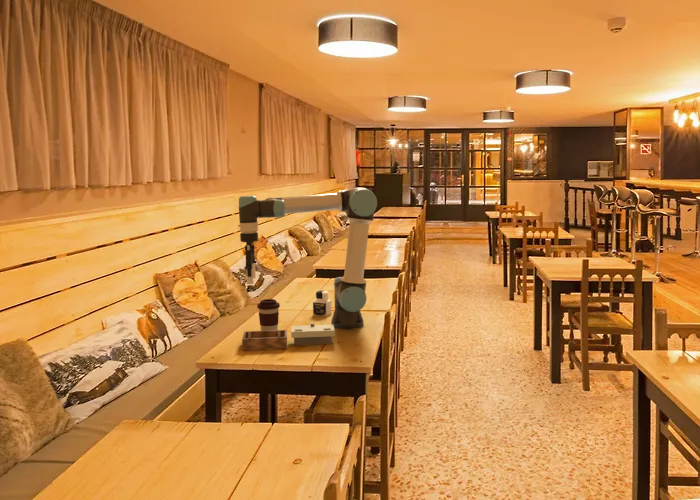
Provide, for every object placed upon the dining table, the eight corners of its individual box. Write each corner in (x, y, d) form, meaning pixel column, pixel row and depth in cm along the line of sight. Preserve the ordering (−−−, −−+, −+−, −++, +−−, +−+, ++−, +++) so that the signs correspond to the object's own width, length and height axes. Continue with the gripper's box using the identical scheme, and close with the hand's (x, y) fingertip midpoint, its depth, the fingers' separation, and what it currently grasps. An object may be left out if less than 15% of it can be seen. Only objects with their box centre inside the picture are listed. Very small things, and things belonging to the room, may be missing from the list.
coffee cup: (276, 336, 283) (275, 303, 281) (255, 335, 285) (253, 302, 283) (283, 330, 292) (282, 298, 290) (262, 329, 294) (261, 297, 292)
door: (333, 330, 277) (333, 322, 276) (334, 336, 267) (334, 327, 266) (291, 331, 275) (291, 323, 275) (291, 337, 265) (291, 329, 265)
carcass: (287, 341, 275) (286, 323, 274) (286, 349, 263) (286, 330, 262) (244, 342, 273) (243, 324, 272) (242, 351, 261) (241, 332, 260)
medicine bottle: (313, 315, 320) (312, 292, 319) (319, 312, 327) (318, 289, 325) (326, 316, 317) (325, 293, 316) (331, 313, 324) (331, 290, 322)
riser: (331, 341, 274) (331, 331, 274) (332, 343, 270) (332, 334, 270) (294, 342, 273) (293, 333, 272) (294, 345, 269) (293, 335, 268)
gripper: (242, 229, 286) (245, 276, 289) (237, 235, 261) (239, 287, 264) (259, 228, 286) (261, 275, 289) (255, 235, 262) (258, 286, 265)
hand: (251, 281), depth 277 cm, fingers open, 13 cm apart
